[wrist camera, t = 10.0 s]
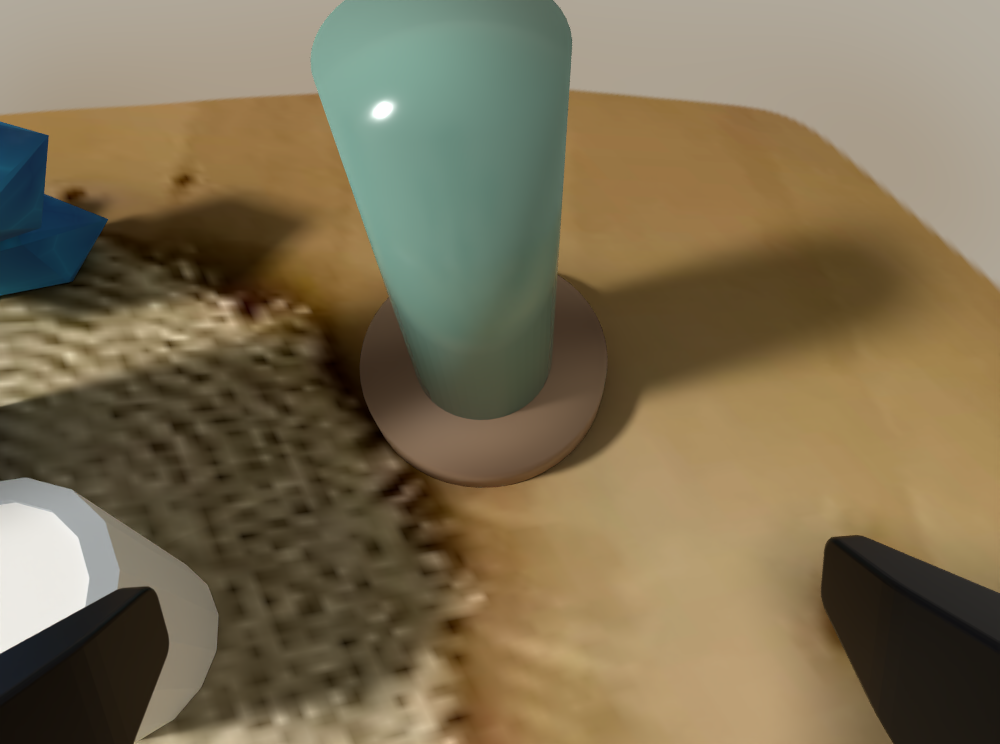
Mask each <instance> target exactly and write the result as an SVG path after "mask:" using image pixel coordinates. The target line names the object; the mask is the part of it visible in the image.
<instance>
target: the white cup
mask: <svg viewBox="0 0 1000 744" xmlns="http://www.w3.org/2000/svg"><path fill="white" fill-rule="evenodd" d="M142 586H149V587H151V588H153V589H154V590H155V592H156V593H157V596H158V599H159V602H160V606H161V609H162V613H163V617H164V620H165V624H166V627H167V631H168V635H169V650H168V655H167V658H166V661H165V663H164V666H163V668H162V671H161V674H160V676H159V679H158V681H157V684H156V687H155V689H154V692H153V694H152V697H151V700H150V702H149V705H148V707H147V710H146V713H145V715H144V718H143V720H142V723H141V726H140V728H139V731H138V733H137V736H136V739H135V741H139V740H141V739H142V738H144V737H146V736H147V735H149V734H151V733H152V732H154V731H156V730H157V729H159V728H161V727H162V726H164V725H166V724H167V723H169V722H171V721H172V720H174V719H175V718H176V717H177V715H178V714H179V713H180V712H181V711H182V710H183V708H184V707H185V706H186V705H187V704H188V703H189V701H190V700H191V699H192V698H193V697H194V696H195V694H196V693H197V692H198V691H199V690H200V688H201V687H202V685H203V682H204V680H205V677H206V675H207V673H208V670H209V668H210V665H211V663H212V661H213V658H214V656H215V653H216V651H217V635H218V617H219V614H218V612H217V609H216V606H215V603H214V601H213V598H212V595H211V592H210V590H209V587H208V585H207V584H206V583H205V582H204V581H203V580H202V579H201V578H200V577H199V576H198V575H197V574H196V573H195V572H194V571H192V570H191V569H190V568H189V567H188V566H187V565H186V564H184V563H183V562H181V561H180V560H178V559H177V558H175V557H174V556H172V555H171V554H169V553H168V552H166V551H165V550H163V549H162V548H160V547H159V546H157V545H156V544H154V543H152V542H151V541H149V540H148V539H146V538H145V537H143V536H142V535H140V534H139V533H137V532H136V531H134V530H133V529H131V528H130V527H128V526H127V525H125V524H124V523H122V522H121V521H119V520H118V519H116V518H114V517H113V516H111V515H110V514H108V513H107V512H105V511H104V510H102V509H101V508H99V507H98V506H96V505H95V504H93V503H92V502H90V501H89V500H87V499H86V498H84V497H83V496H81V495H80V494H78V493H77V492H75V491H73V490H72V489H68V488H64V487H60V486H57V485H53V484H49V483H45V482H42V481H38V480H34V479H30V478H26V477H25V478H18V479H12V480H5V481H0V653H2V652H4V651H6V650H8V649H10V648H11V647H13V646H15V645H17V644H19V643H20V642H22V641H24V640H26V639H28V638H30V637H31V636H33V635H35V634H37V633H39V632H40V631H42V630H44V629H46V628H48V627H50V626H51V625H53V624H55V623H57V622H59V621H60V620H62V619H64V618H66V617H68V616H70V615H71V614H73V613H75V612H77V611H79V610H80V609H82V608H84V607H86V606H88V605H90V604H91V603H93V602H95V601H97V600H99V599H100V598H102V597H104V596H106V595H108V594H110V593H111V592H113V591H115V590H117V589H120V588H128V587H142ZM135 741H134V742H135Z"/></svg>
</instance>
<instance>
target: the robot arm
mask: <svg viewBox="0 0 1000 744" xmlns="http://www.w3.org/2000/svg"><path fill="white" fill-rule="evenodd" d="M821 598H822V602H823V606H824V608H825V611H826V613H827V615H828V617H829V619H830V621H831V623H832V625H833V627H834V629H835V631H836V633H837V636H838V638H839V640H840V642H841V644H842V646H843V648H844V650H845V652H846V654H847V656H848V658H849V660H850V662H851V664H852V666H853V669H854V671H855V673H856V675H857V677H858V679H859V681H860V683H861V685H862V687H863V689H864V691H865V693H866V695H867V697H868V699H869V701H870V703H871V705H872V707H873V709H874V711H875V713H876V715H877V717H878V718H879V720H880V722H881V723H882V725H883V727H884V729H885V730H886V732H887V734H888V735H889V737H890V739H891V740H892V742H893V744H1000V593H998V592H995V591H993V590H990V589H988V588H986V587H983V586H981V585H979V584H976V583H974V582H971V581H969V580H967V579H964V578H962V577H959V576H957V575H955V574H952V573H950V572H948V571H945V570H943V569H940V568H938V567H936V566H933V565H931V564H929V563H926V562H924V561H921V560H919V559H917V558H914V557H912V556H909V555H907V554H905V553H902V552H900V551H898V550H895V549H893V548H890V547H888V546H886V545H883V544H881V543H878V542H876V541H874V540H871V539H869V538H867V537H864V536H860V535H852V536H839V537H831V538H830V539H829V540H828V541H827V543H826V545H825V549H824V560H823V571H822V581H821ZM168 650H169V635H168V631H167V627H166V624H165V620H164V617H163V613H162V609H161V606H160V602H159V599H158V596H157V593H156V592H155V590H154V589H153V588H151V587H149V586H142V587H128V588H120V589H117V590H115V591H113V592H111V593H110V594H108V595H106V596H104V597H102V598H100V599H99V600H97V601H95V602H93V603H91V604H90V605H88V606H86V607H84V608H82V609H80V610H79V611H77V612H75V613H73V614H71V615H70V616H68V617H66V618H64V619H62V620H60V621H59V622H57V623H55V624H53V625H51V626H50V627H48V628H46V629H44V630H42V631H40V632H39V633H37V634H35V635H33V636H31V637H30V638H28V639H26V640H24V641H22V642H20V643H19V644H17V645H15V646H13V647H11V648H10V649H8V650H6V651H4V652H2V653H0V744H134V741H135V739H136V736H137V733H138V731H139V728H140V726H141V723H142V720H143V718H144V715H145V713H146V710H147V707H148V705H149V702H150V700H151V697H152V694H153V692H154V689H155V687H156V684H157V681H158V679H159V676H160V674H161V671H162V668H163V666H164V663H165V661H166V658H167V655H168Z"/></svg>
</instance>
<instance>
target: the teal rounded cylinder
mask: <svg viewBox="0 0 1000 744" xmlns="http://www.w3.org/2000/svg"><path fill="white" fill-rule="evenodd" d="M571 52H572V37H571V31H570V27H569V25H568V22H567V19H566V18H565V16H564V14H563V12H562V11H561V9H560V8H559V7H558V5H557V4H556V3H555V2H554V1H553V0H345V1H344V2H342V3H341V4H340V5H339V6H338V7H336V9H335V10H334V11H333V12H332V13H331V14H330V15H329V16H328V17H327V19H326V20H325V21H324V23H323V24H322V26H321V27H320V29H319V31H318V33H317V35H316V37H315V40H314V43H313V47H312V52H311V70H312V75H313V78H314V81H315V84H316V87H317V90H318V93H319V96H320V99H321V102H322V105H323V108H324V110H325V113H326V116H327V119H328V122H329V125H330V128H331V131H332V134H333V136H334V139H335V142H336V145H337V148H338V151H339V154H340V157H341V160H342V162H343V165H344V168H345V171H346V174H347V177H348V180H349V183H350V186H351V188H352V191H353V194H354V197H355V200H356V203H357V206H358V209H359V212H360V214H361V217H362V220H363V223H364V226H365V229H366V232H367V235H368V238H369V240H370V243H371V246H372V249H373V252H374V255H375V258H376V261H377V263H378V266H379V269H380V272H381V275H382V278H383V281H384V284H385V287H386V289H387V292H388V295H389V298H390V301H391V304H392V307H393V310H394V313H395V315H396V318H397V321H398V324H399V327H400V330H401V333H402V336H403V339H404V341H405V344H406V347H407V350H408V353H409V356H410V359H411V362H412V365H413V367H414V370H415V373H416V376H417V379H418V382H419V384H420V386H421V388H422V389H423V391H424V392H425V394H426V395H427V396H428V398H429V399H430V400H431V401H432V402H433V403H435V404H436V405H437V406H438V407H440V408H441V409H443V410H444V411H446V412H448V413H450V414H453V415H455V416H458V417H462V418H466V419H472V420H490V419H496V418H501V417H504V416H507V415H510V414H512V413H514V412H516V411H518V410H520V409H521V408H523V407H525V406H526V405H527V404H529V403H530V402H531V401H532V400H533V399H534V398H535V397H536V396H537V395H538V394H539V392H540V391H541V390H542V388H543V387H544V385H545V383H546V381H547V379H548V376H549V373H550V370H551V365H552V351H553V335H554V320H555V304H556V288H557V273H558V257H559V241H560V226H561V210H562V194H563V179H564V163H565V147H566V132H567V116H568V100H569V85H570V69H571V54H572V53H571Z"/></svg>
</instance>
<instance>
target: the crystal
mask: <svg viewBox="0 0 1000 744" xmlns="http://www.w3.org/2000/svg"><path fill="white" fill-rule="evenodd" d="M48 137H49V135H45V134H42V133H38V132H35V131H31V130H28V129H24V128H21V127H17V126H14V125H10V124H7V123H3V122H0V296H1V295H6V294H11V293H16V292H21V291H27V290H32V289H37V288H42V287H47V286H52V285H57V284H63V283H68V282H71V281H73V280H74V278H75V276H76V274H77V273H78V271H79V269H80V267H81V266H82V264H83V262H84V261H85V259H86V257H87V255H88V254H89V252H90V250H91V248H92V247H93V245H94V243H95V242H96V240H97V238H98V236H99V235H100V233H101V231H102V229H103V228H104V226H105V224H106V222H107V221H108V219H106V218H104V217H101V216H99V215H96V214H94V213H91V212H89V211H86V210H84V209H81V208H78V207H76V206H73V205H71V204H68V203H66V202H63V201H61V200H58V199H56V198H53V197H51V196H48V195H45V194H44V187H45V175H46V162H47V150H48Z"/></svg>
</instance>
